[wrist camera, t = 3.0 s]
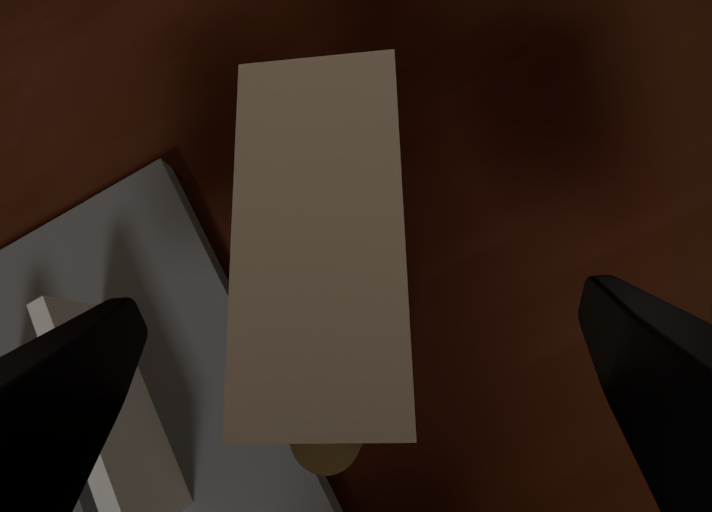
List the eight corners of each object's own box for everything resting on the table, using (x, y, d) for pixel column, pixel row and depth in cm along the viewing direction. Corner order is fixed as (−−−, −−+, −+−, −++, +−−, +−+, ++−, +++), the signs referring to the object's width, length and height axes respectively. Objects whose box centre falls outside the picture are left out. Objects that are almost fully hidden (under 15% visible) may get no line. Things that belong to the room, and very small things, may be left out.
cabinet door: (408, 395, 16) (419, 488, 5) (350, 396, 16) (219, 487, 5) (399, 229, 18) (390, -17, 6) (346, 232, 18) (240, -1, 6)
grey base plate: (371, 568, 15) (358, 655, 11) (44, 769, 15) (-110, 943, 10) (172, 168, 19) (105, 113, 15) (-81, 313, 19) (-223, 300, 15)
